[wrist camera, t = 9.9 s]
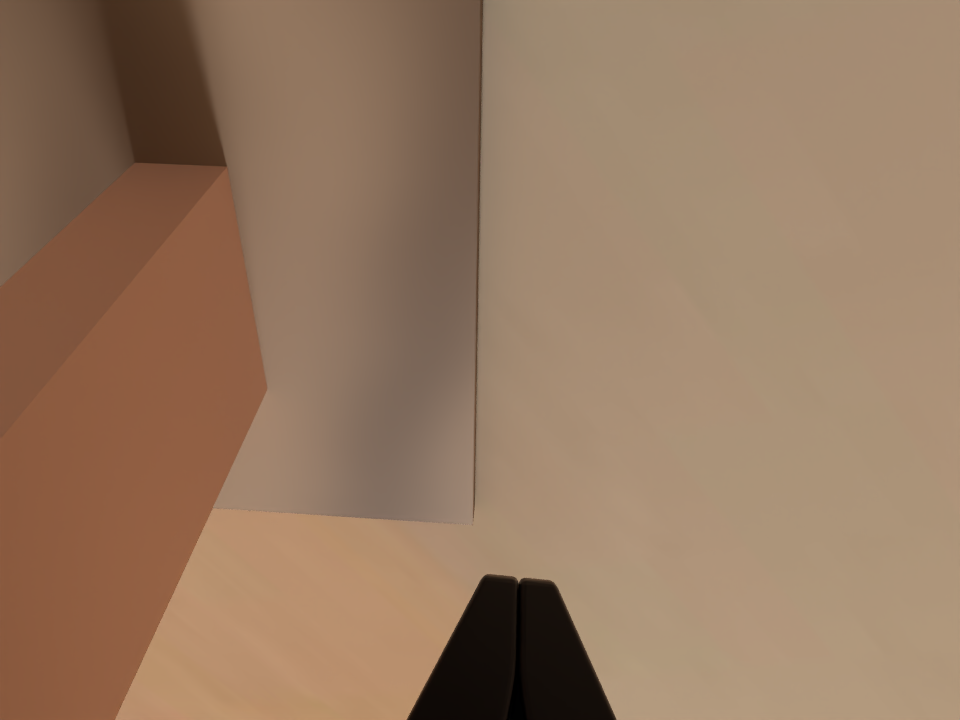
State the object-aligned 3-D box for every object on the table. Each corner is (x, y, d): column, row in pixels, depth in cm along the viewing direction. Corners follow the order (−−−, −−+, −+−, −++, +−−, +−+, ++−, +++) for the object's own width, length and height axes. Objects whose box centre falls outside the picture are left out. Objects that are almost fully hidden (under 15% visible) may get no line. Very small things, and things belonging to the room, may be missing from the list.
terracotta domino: (190, 384, 16) (-66, 820, 10) (135, 162, 14) (-290, 554, 7) (267, 389, 16) (63, 831, 9) (227, 166, 13) (-106, 567, 7)
